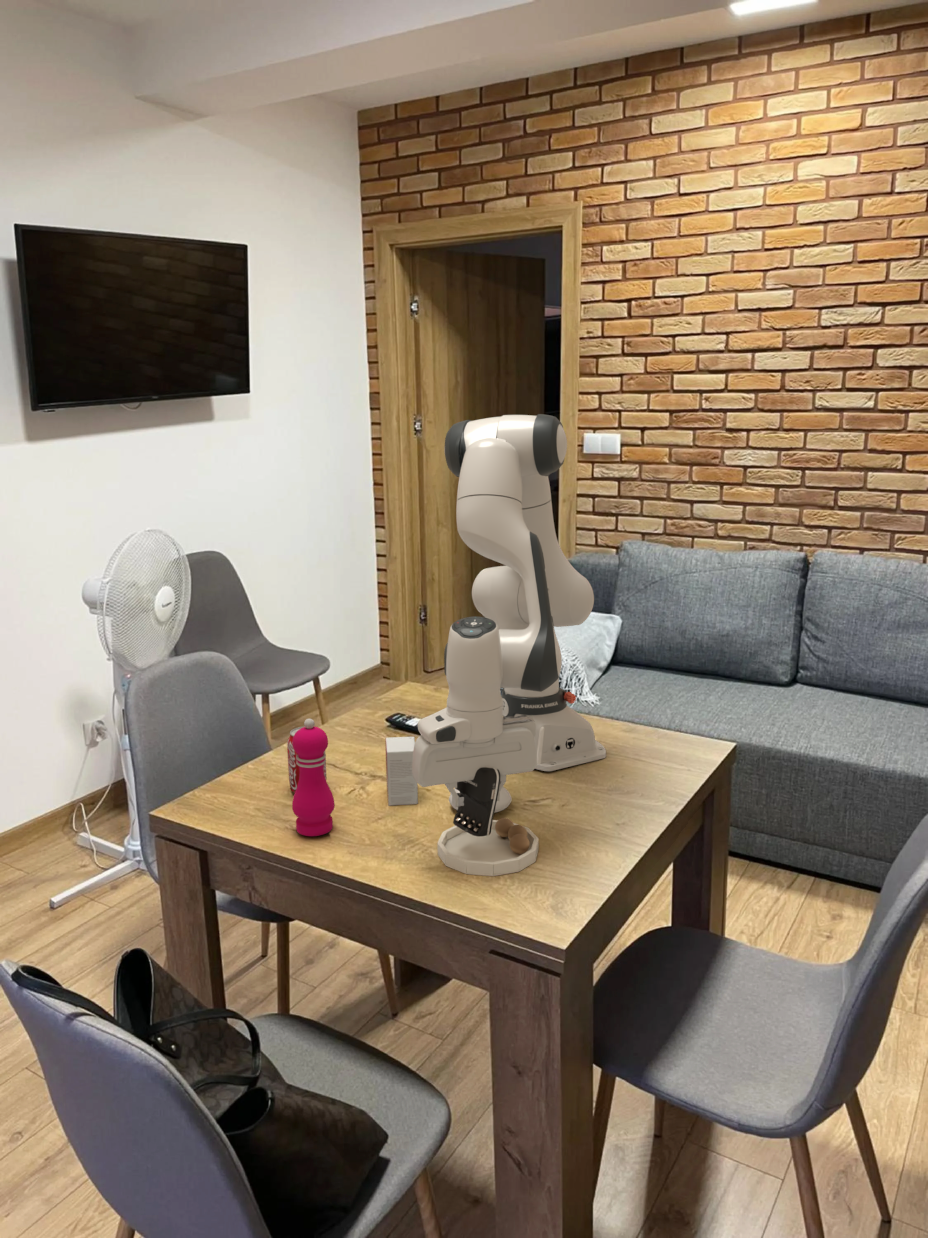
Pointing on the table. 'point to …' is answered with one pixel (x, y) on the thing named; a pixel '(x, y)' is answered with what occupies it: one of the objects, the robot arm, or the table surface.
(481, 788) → the battery charger
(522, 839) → the bead
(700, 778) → the table surface
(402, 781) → the small box
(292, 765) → the soda can
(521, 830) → the bead
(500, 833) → the bead
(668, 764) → the table surface
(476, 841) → the tray
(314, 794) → the pepper mill
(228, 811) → the table surface
